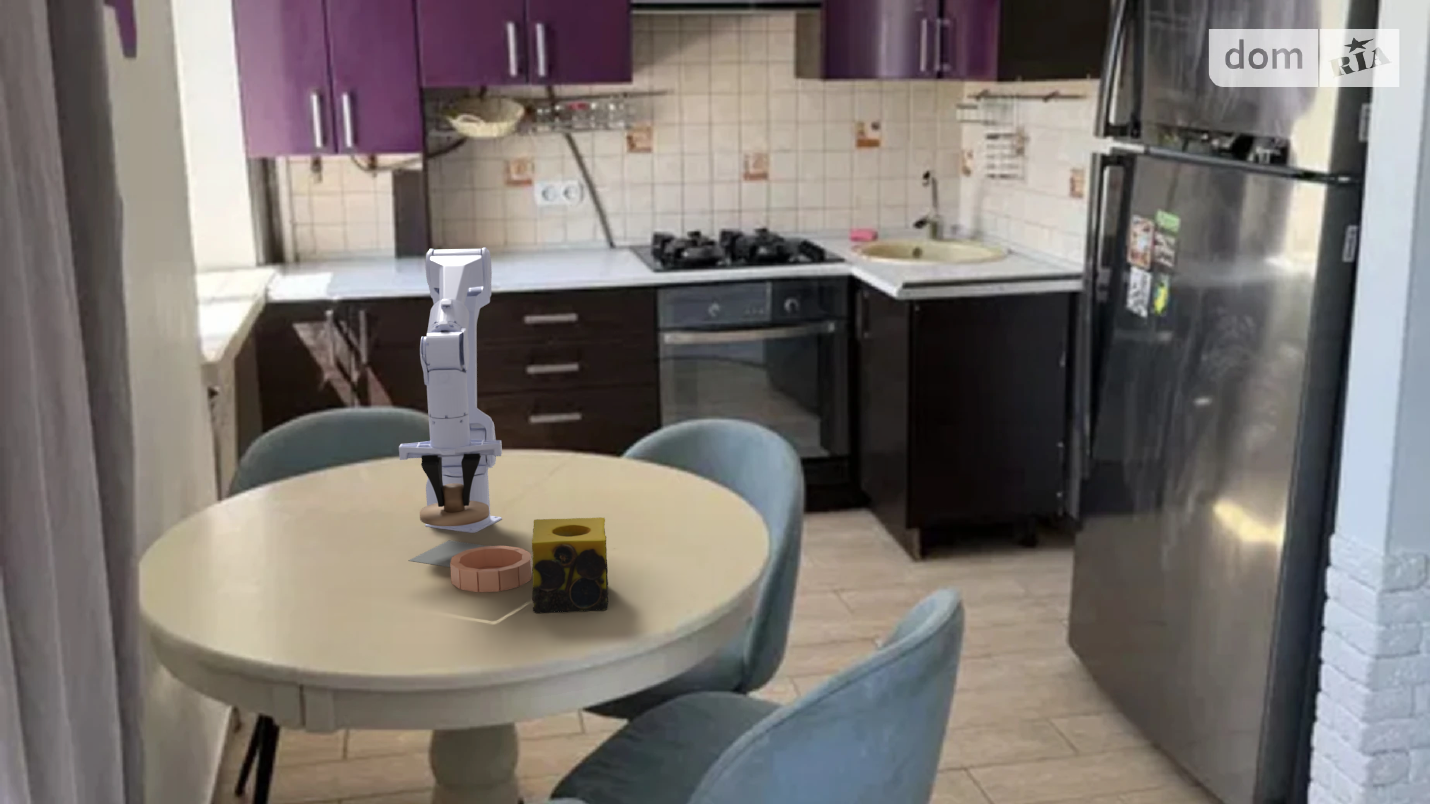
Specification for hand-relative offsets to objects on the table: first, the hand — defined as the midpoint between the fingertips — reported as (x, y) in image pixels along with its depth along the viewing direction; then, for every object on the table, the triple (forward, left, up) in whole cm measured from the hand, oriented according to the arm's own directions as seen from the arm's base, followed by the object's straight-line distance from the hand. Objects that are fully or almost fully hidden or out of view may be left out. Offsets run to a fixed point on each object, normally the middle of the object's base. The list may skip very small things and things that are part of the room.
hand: (454, 504), depth 201 cm
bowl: (+11, -7, -8) cm, 15 cm away
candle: (+25, -9, -8) cm, 27 cm away
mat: (0, 0, -8) cm, 8 cm away
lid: (0, 0, -2) cm, 2 cm away
